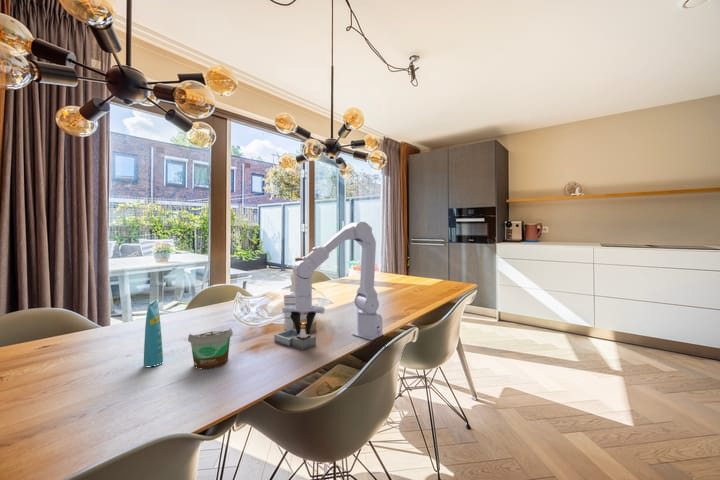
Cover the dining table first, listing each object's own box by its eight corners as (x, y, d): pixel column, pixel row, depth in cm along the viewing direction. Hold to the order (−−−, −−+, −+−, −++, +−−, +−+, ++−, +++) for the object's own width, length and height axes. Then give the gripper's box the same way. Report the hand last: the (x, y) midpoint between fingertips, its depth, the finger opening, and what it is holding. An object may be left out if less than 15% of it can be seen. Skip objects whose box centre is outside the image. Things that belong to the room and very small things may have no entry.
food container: (187, 374, 84) (186, 339, 83) (188, 366, 89) (187, 333, 89) (234, 365, 89) (234, 332, 89) (233, 358, 95) (232, 326, 94)
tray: (307, 339, 111) (307, 333, 111) (289, 346, 104) (289, 339, 104) (292, 334, 116) (292, 328, 116) (274, 341, 109) (274, 334, 109)
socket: (315, 345, 106) (315, 336, 105) (303, 350, 101) (302, 341, 101) (304, 341, 109) (304, 333, 109) (291, 346, 104) (291, 337, 104)
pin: (309, 345, 105) (309, 322, 105) (303, 348, 103) (303, 325, 103) (304, 343, 107) (303, 321, 107) (297, 345, 105) (297, 323, 104)
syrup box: (298, 330, 122) (297, 294, 121) (283, 329, 122) (283, 294, 121) (301, 325, 127) (301, 291, 127) (287, 325, 128) (287, 291, 127)
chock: (316, 331, 121) (316, 321, 120) (305, 335, 116) (305, 325, 115) (303, 328, 124) (303, 318, 124) (293, 332, 120) (293, 322, 119)
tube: (161, 367, 88) (159, 303, 87) (141, 371, 86) (139, 304, 85) (164, 358, 95) (163, 298, 94) (146, 360, 93) (145, 299, 92)
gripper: (325, 292, 108) (326, 329, 108) (286, 292, 109) (286, 329, 109) (322, 297, 101) (322, 336, 101) (280, 296, 102) (280, 335, 102)
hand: (303, 333), depth 105 cm, fingers closed on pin, 3 cm apart
